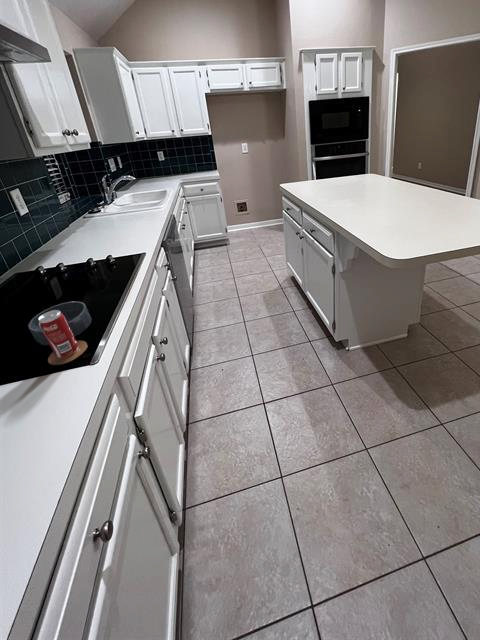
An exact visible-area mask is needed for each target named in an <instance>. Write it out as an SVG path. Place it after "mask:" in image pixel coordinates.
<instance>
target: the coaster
mask: <svg viewBox="0 0 480 640" xmlns="http://www.w3.org/2000/svg"><path fill="white" fill-rule="evenodd" d="M76 342H77V344H78V350H77V351H76V352H75V353H74V354H73V355H71V356H69V357H67V358H58V357H56V355H55V354H54V352H53V351H52V352H51V353H50V354H49V356H48V358H47V363H48V364H49V365H52V366H62V365H65V364H68V363H70V362H71V363H72V361H74V360H76V359H77V358H79V357H81V356H82V355H83V354H84V353H85V352H86V350H87V349H88V343H87V342H86V341H85V340H76Z"/></svg>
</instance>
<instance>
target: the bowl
mask: <svg viewBox="0 0 480 640" xmlns="http://www.w3.org/2000/svg"><path fill="white" fill-rule="evenodd" d="M53 310H59V311H60V313H62V314H63V315H64V317H65V319H66V321H67V323H68V325H69V327H70V330H71V332H72V334H73V336H74V338H76V337H77V336H79V335H80V334H82V333H83V332H84V331H86V330H87V329H88V328H89V326H90V325H91V324H92V320H93V319H92V317H91V314H90V313H89V309H88V307H87V305H86V304H85V302H82V301H67V302H61V303H59V304H55V305H53V306H51V307H49V308H47V309H44V310H43V311H41V312H40V313H37V314H36V315H35V316H34V317H32V319H31V320H30V321H29V323H28V325H27V326H28V330H29V331H30V333H31V336H33V339H34V340H35V342H36V344H39V345H40V346H50V344H49V342H48V340H47V339H46V337H45V335H44V333H43V331H42V329H41V327H40V325H39V320H38V319H39V317H40V316H41V315H43V314H44V313H46V312H49V311H53Z"/></svg>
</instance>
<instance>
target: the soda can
mask: <svg viewBox="0 0 480 640" xmlns="http://www.w3.org/2000/svg"><path fill="white" fill-rule="evenodd" d="M38 320H39V325H40V327H41V329H42V331H43V333H44V335H45V337H46V339H47V340H48V342H49V344H50V345H49V346H50V349H51V350H52V352H54V354H55V355H56V357H58V358H67V357H69V356H71V355H73V354H74V353H75V352H76V351H77V350H78V344H77V342H76V341H77V340H76V337H74V336H73V334H72V332H71V330H70V327H69V325H68V323H67V321H66V319H65V317H64V315H63V314H62V313H60V311H59V310H53V311H49V312H46V313H44V314H43V315H41V316H40V317H39V319H38Z"/></svg>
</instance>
